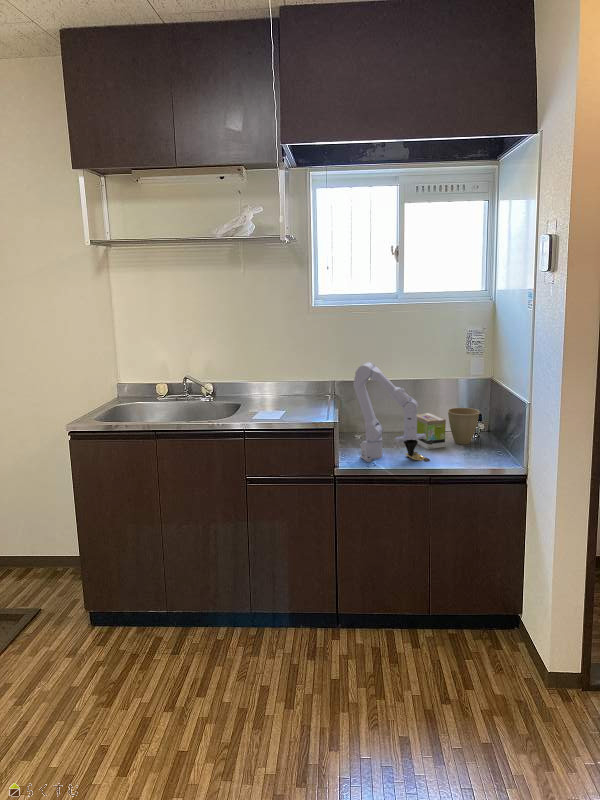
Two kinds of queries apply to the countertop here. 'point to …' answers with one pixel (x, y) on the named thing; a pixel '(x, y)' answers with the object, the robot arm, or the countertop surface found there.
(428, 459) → the hinge base
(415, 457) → the tan flat block
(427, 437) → the tea box
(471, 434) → the plant pot
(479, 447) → the countertop surface
